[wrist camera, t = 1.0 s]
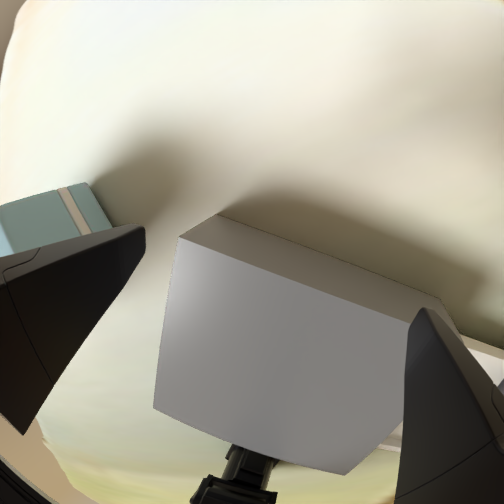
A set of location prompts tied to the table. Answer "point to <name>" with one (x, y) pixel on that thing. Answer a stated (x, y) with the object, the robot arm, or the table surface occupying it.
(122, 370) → the table surface
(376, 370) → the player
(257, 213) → the table surface
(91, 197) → the radio
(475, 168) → the table surface
